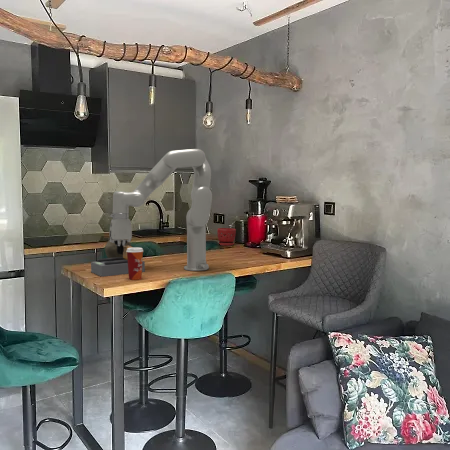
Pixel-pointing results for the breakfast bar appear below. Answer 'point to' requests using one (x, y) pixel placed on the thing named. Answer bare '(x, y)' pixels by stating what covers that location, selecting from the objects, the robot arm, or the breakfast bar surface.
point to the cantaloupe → (113, 249)
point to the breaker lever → (125, 251)
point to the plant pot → (228, 238)
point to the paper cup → (135, 262)
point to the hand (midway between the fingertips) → (120, 253)
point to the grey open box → (111, 266)
